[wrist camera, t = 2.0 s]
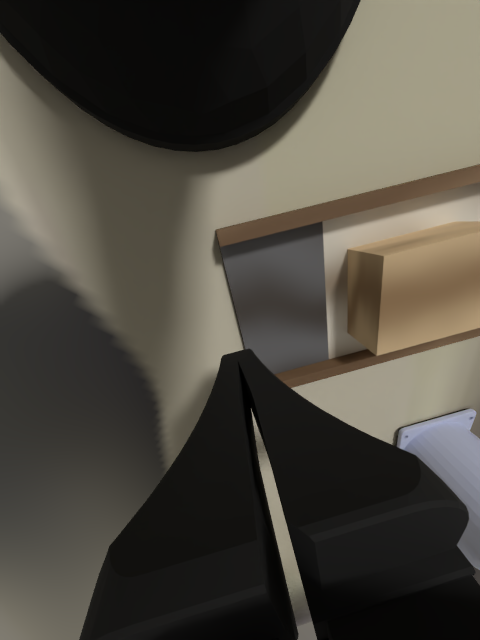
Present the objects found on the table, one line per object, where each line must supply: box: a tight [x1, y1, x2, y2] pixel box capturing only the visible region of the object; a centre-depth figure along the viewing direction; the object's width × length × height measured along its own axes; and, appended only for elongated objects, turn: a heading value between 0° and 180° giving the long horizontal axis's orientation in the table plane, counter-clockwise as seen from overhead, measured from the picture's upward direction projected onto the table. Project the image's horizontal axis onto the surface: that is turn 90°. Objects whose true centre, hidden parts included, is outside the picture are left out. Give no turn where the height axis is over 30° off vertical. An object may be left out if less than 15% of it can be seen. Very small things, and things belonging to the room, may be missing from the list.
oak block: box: [347, 221, 480, 356], centre depth 13 cm, size 6×7×3 cm
